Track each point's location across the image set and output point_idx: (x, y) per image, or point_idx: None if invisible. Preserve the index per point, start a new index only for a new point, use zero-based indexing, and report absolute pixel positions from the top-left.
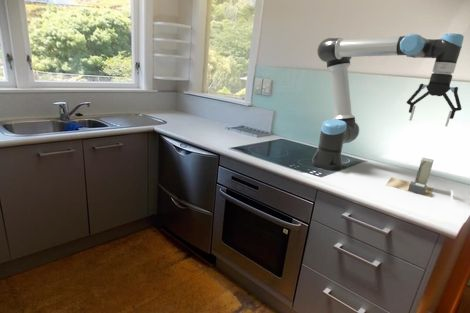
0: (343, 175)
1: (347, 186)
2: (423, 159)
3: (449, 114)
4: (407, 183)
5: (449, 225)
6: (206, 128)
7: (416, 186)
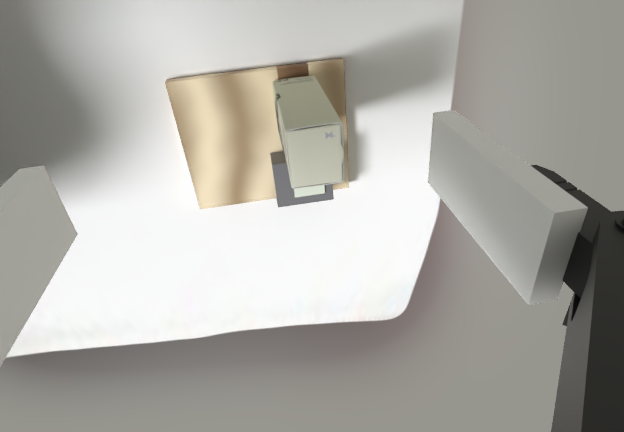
0: None
1: (124, 301)
2: (298, 173)
3: (507, 267)
4: (248, 107)
5: (399, 298)
6: None
7: (301, 203)
